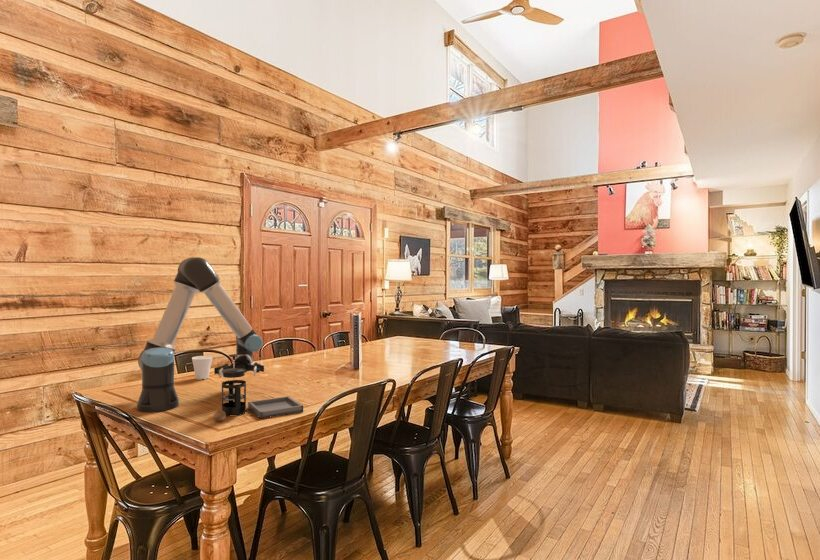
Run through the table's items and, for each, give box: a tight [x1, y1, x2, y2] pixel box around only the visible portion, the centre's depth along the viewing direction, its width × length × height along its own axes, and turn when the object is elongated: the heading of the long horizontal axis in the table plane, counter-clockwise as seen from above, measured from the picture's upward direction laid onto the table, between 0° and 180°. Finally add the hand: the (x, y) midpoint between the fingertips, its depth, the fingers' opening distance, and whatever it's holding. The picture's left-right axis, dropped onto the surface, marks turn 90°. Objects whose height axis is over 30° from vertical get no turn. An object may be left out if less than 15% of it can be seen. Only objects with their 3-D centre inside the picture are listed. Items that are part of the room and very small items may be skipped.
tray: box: [247, 395, 304, 419], centre depth 193 cm, size 17×17×2 cm
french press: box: [221, 354, 247, 417], centre depth 189 cm, size 12×9×23 cm
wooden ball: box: [214, 409, 227, 422], centre depth 178 cm, size 4×4×4 cm
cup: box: [191, 355, 214, 381], centre depth 247 cm, size 10×10×11 cm
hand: (237, 373), depth 198 cm, fingers open, 13 cm apart
